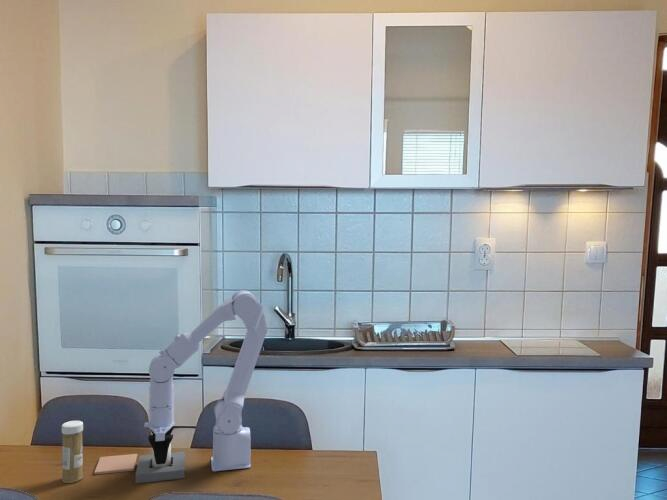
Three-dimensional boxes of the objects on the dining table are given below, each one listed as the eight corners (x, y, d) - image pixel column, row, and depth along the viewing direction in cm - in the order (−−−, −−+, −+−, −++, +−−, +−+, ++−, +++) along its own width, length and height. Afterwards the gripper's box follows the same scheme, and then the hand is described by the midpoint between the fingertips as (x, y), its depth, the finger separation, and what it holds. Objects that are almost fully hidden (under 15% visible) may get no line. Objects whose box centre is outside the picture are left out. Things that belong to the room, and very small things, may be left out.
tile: (137, 455, 138) (137, 453, 138) (133, 470, 129) (133, 468, 129) (100, 459, 135) (100, 457, 135) (94, 474, 127) (94, 472, 127)
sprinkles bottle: (84, 481, 123) (84, 424, 123) (62, 485, 121) (62, 427, 121) (81, 473, 127) (81, 418, 127) (60, 478, 125) (60, 422, 124)
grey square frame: (184, 459, 136) (184, 451, 136) (184, 478, 126) (184, 469, 125) (139, 463, 133) (139, 455, 133) (135, 483, 123) (135, 474, 123)
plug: (171, 466, 132) (171, 434, 132) (170, 473, 128) (170, 441, 128) (152, 467, 131) (152, 436, 131) (151, 475, 127) (151, 442, 126)
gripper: (146, 396, 135) (146, 449, 135) (141, 415, 121) (141, 473, 121) (175, 395, 137) (175, 446, 137) (173, 413, 123) (173, 470, 123)
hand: (161, 459), depth 129 cm, fingers closed on plug, 4 cm apart
